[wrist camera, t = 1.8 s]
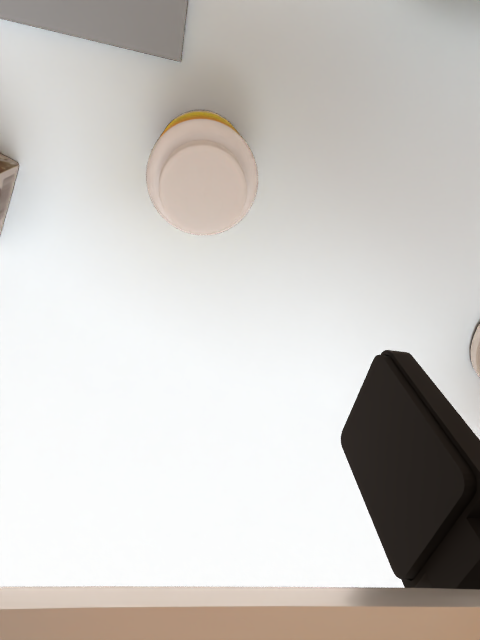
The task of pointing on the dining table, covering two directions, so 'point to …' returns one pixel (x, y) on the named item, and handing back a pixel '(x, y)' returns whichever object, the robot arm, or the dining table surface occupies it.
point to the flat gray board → (108, 21)
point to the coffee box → (6, 184)
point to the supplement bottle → (201, 174)
